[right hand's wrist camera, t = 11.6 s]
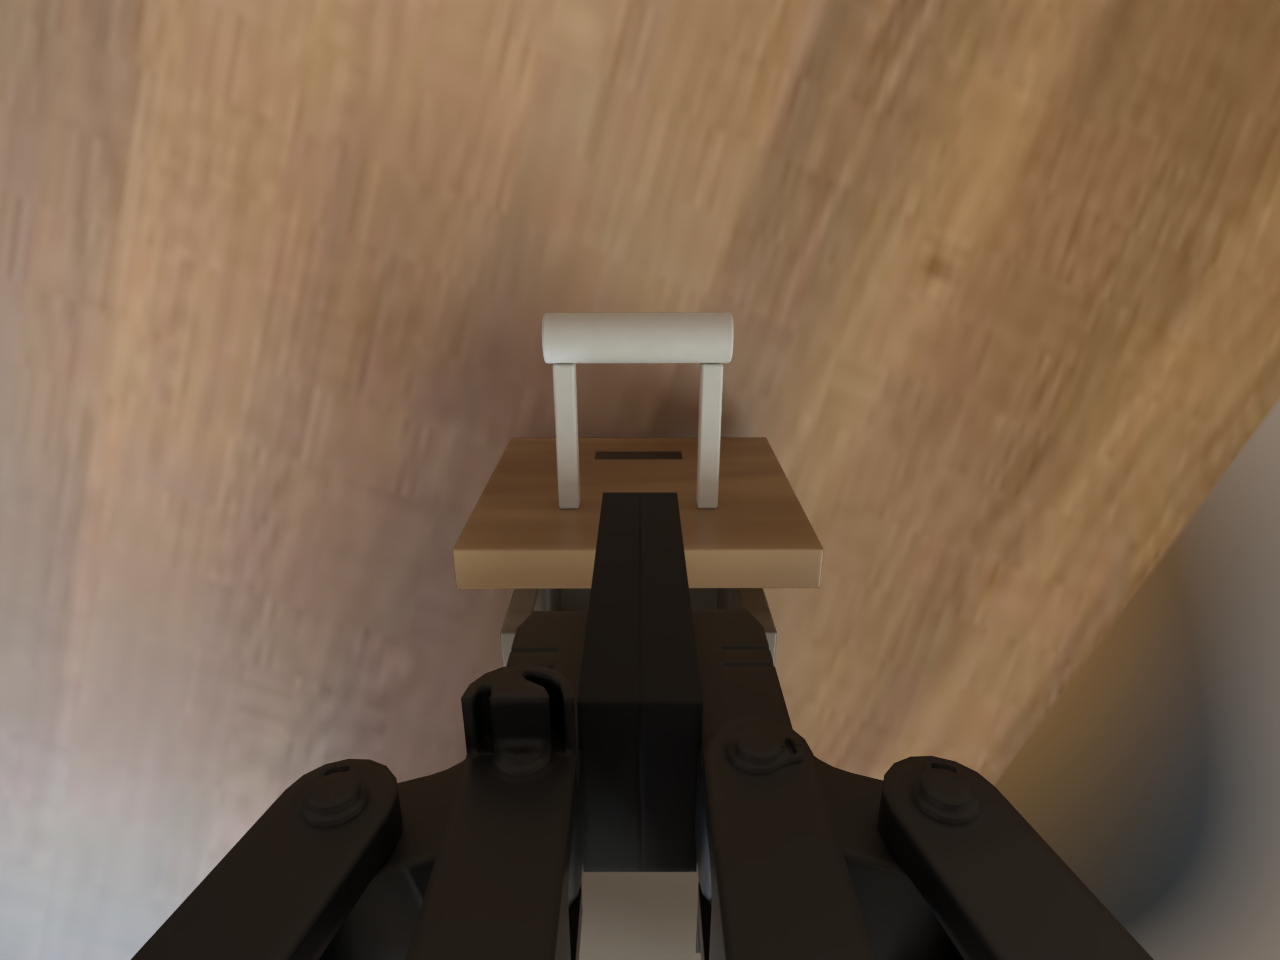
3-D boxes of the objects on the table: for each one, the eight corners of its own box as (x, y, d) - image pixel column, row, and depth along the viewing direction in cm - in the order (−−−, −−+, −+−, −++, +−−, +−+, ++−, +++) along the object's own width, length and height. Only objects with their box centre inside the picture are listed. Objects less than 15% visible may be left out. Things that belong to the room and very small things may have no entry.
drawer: (500, 284, 26) (428, 332, 17) (775, 284, 26) (845, 331, 17) (532, 753, 34) (494, 952, 25) (746, 753, 34) (784, 952, 25)
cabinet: (515, 637, 33) (454, 856, 22) (763, 637, 33) (823, 856, 22) (535, 906, 39) (495, 1182, 28) (744, 906, 39) (785, 1182, 28)
